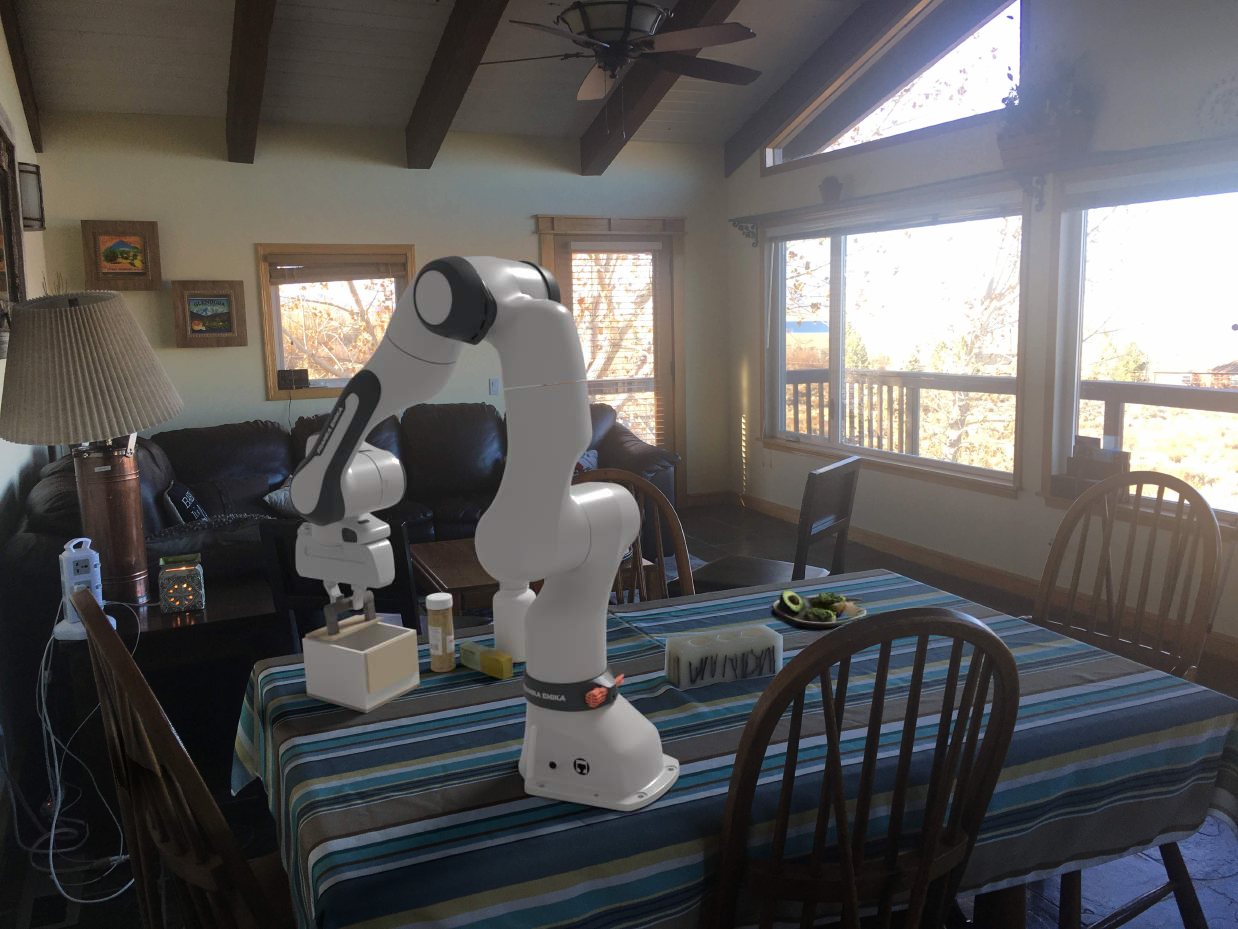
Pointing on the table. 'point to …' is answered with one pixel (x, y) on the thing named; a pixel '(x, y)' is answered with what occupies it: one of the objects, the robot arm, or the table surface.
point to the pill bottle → (511, 618)
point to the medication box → (486, 660)
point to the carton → (362, 666)
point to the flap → (349, 624)
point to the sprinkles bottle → (441, 632)
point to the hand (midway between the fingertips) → (347, 606)
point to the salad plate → (816, 609)
